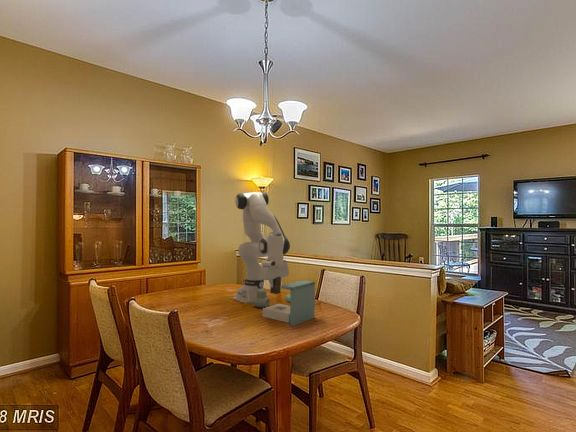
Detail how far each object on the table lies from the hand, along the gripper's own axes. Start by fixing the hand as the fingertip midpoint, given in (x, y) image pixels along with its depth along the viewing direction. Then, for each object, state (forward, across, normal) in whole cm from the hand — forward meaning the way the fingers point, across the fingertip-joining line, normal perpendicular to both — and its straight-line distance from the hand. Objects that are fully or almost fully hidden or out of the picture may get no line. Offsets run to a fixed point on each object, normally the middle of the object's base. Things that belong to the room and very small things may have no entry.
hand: (275, 286), depth 191 cm
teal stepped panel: (+17, -2, +14) cm, 22 cm away
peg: (+4, 0, 0) cm, 4 cm away
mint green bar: (+17, -29, -6) cm, 34 cm away
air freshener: (+17, -11, -20) cm, 28 cm away
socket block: (+17, -2, +4) cm, 17 cm away
